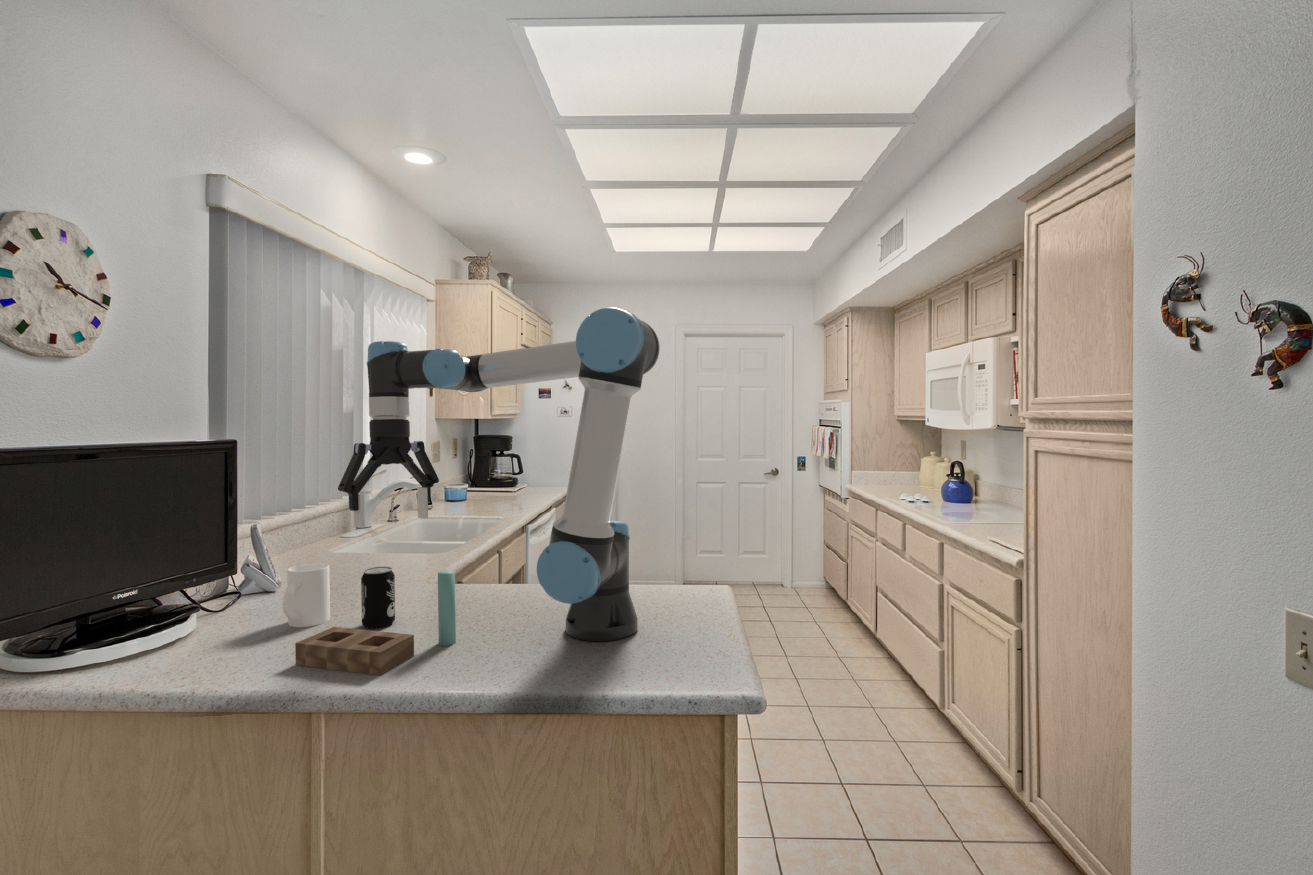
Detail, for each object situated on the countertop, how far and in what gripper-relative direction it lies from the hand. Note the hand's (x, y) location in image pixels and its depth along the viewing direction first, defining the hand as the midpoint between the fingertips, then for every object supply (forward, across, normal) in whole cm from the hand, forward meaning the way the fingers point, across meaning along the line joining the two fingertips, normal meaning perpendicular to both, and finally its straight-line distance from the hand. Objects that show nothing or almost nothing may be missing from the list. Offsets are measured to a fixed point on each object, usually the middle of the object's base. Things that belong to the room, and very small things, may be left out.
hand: (392, 522), depth 123 cm
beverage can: (+23, -1, -10) cm, 25 cm away
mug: (+23, +8, -23) cm, 33 cm away
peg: (+24, -4, +12) cm, 27 cm away
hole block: (+23, +11, +7) cm, 27 cm away
